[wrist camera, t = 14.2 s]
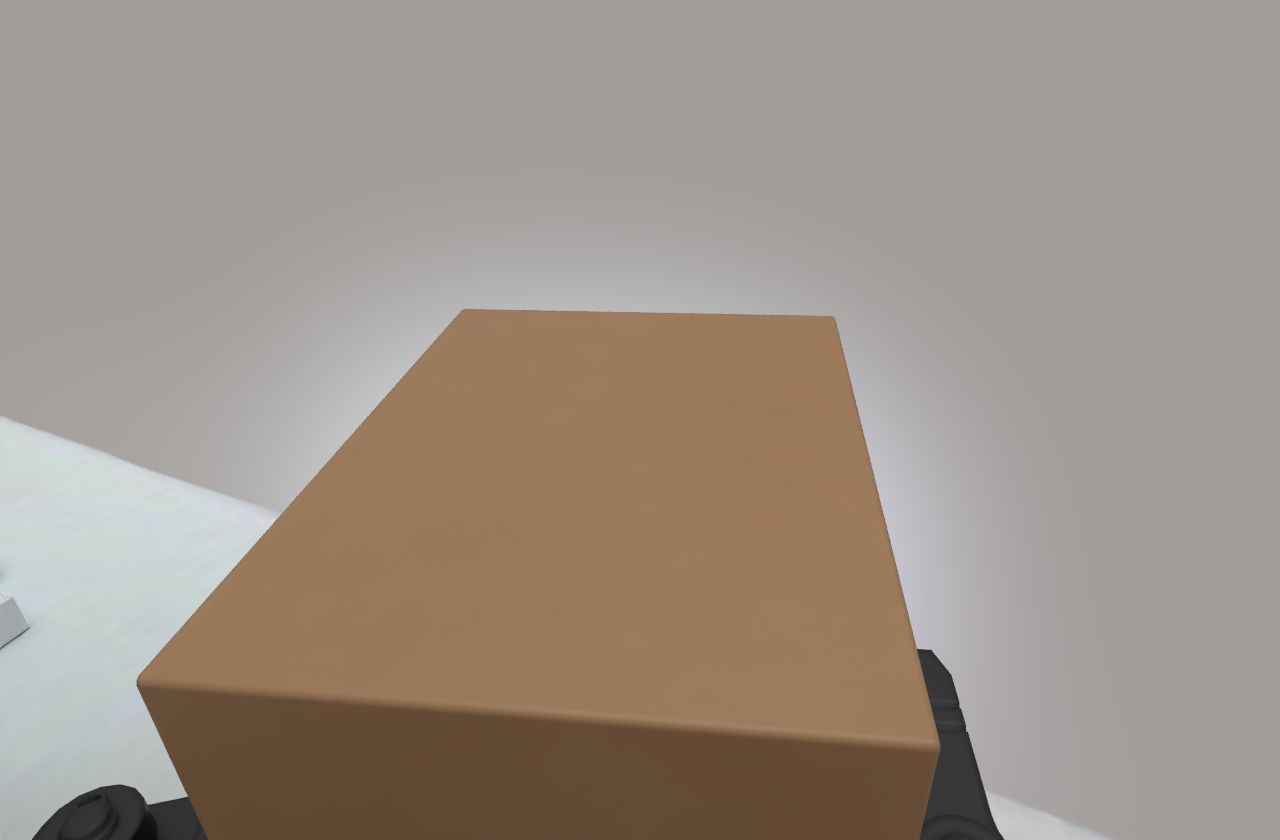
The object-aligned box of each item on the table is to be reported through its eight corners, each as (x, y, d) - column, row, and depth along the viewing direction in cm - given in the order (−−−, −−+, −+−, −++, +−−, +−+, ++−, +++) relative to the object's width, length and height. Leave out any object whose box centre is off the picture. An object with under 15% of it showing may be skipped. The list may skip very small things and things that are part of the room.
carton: (399, 1260, 12) (128, 680, 6) (530, 786, 19) (461, 307, 13) (810, 1328, 11) (944, 746, 5) (787, 810, 18) (835, 314, 12)
